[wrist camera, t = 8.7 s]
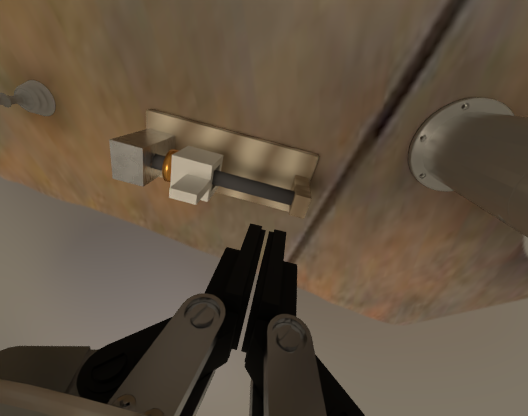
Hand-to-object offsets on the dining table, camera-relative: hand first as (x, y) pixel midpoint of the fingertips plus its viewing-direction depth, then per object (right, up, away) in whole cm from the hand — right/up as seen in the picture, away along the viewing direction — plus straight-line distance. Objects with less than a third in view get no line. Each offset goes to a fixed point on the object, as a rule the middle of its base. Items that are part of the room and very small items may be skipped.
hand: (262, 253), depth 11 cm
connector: (-14, +11, +25) cm, 31 cm away
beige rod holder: (-5, +9, +26) cm, 28 cm away
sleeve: (-9, +8, +22) cm, 25 cm away
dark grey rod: (-6, +7, +21) cm, 23 cm away
